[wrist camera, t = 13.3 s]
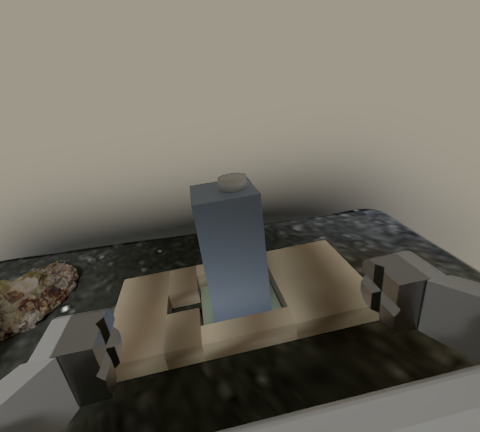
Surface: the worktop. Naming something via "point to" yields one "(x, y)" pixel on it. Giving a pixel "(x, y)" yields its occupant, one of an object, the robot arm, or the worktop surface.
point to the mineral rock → (34, 297)
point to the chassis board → (238, 329)
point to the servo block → (232, 246)
